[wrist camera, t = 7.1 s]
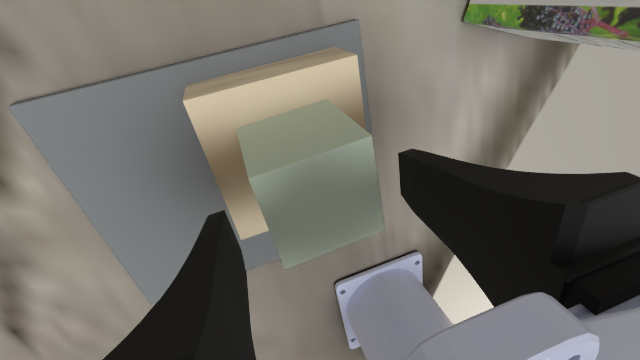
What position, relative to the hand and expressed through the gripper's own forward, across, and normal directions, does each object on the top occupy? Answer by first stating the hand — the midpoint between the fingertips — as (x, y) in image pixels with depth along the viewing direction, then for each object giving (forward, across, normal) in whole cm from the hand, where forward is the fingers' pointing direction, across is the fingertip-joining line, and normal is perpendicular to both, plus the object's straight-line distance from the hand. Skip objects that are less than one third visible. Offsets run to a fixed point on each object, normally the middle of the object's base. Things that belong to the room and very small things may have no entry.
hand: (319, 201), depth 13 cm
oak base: (+7, 0, 0) cm, 7 cm away
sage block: (+4, 0, 0) cm, 4 cm away
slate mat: (+8, +3, +2) cm, 9 cm away
